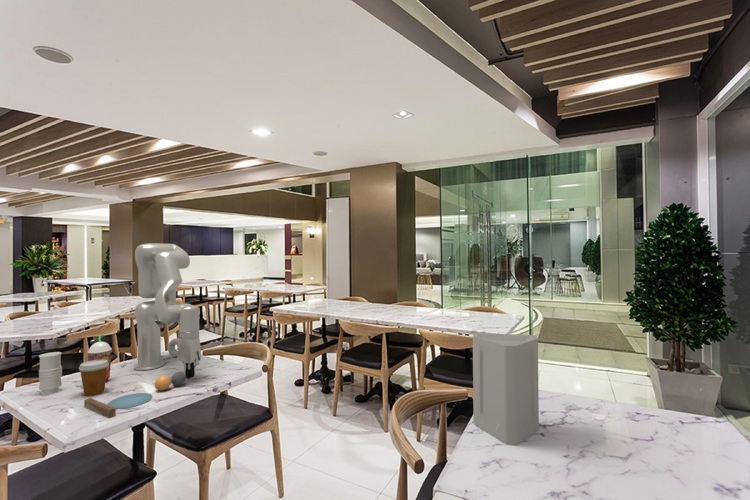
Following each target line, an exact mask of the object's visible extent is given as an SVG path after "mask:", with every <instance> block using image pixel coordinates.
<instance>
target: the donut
mask: <svg viewBox="0 0 750 500" xmlns="http://www.w3.org/2000/svg"><path fill="white" fill-rule="evenodd" d="M179 338H180V337H179ZM179 338H178V337H176V338H173V339H171V340H170V341H169V342H168V345H167V351H168V353H169V354H170V355H171V357H172V358H173V357H174V358H177V354H178V349H176V346H177V347H178V342H179ZM169 354H168V355H169Z"/></svg>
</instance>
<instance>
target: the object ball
mask: <svg viewBox="0 0 750 500" xmlns="http://www.w3.org/2000/svg"><path fill="white" fill-rule="evenodd" d="M171 384H172V382H171V379H170V377H169V376H168V375H161V376H159V377H157V378H156V379H155V381H154V388H155V390H157V391H160V392H161V391H166V390H167V389H168V388H169V387H170V386H171Z"/></svg>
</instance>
